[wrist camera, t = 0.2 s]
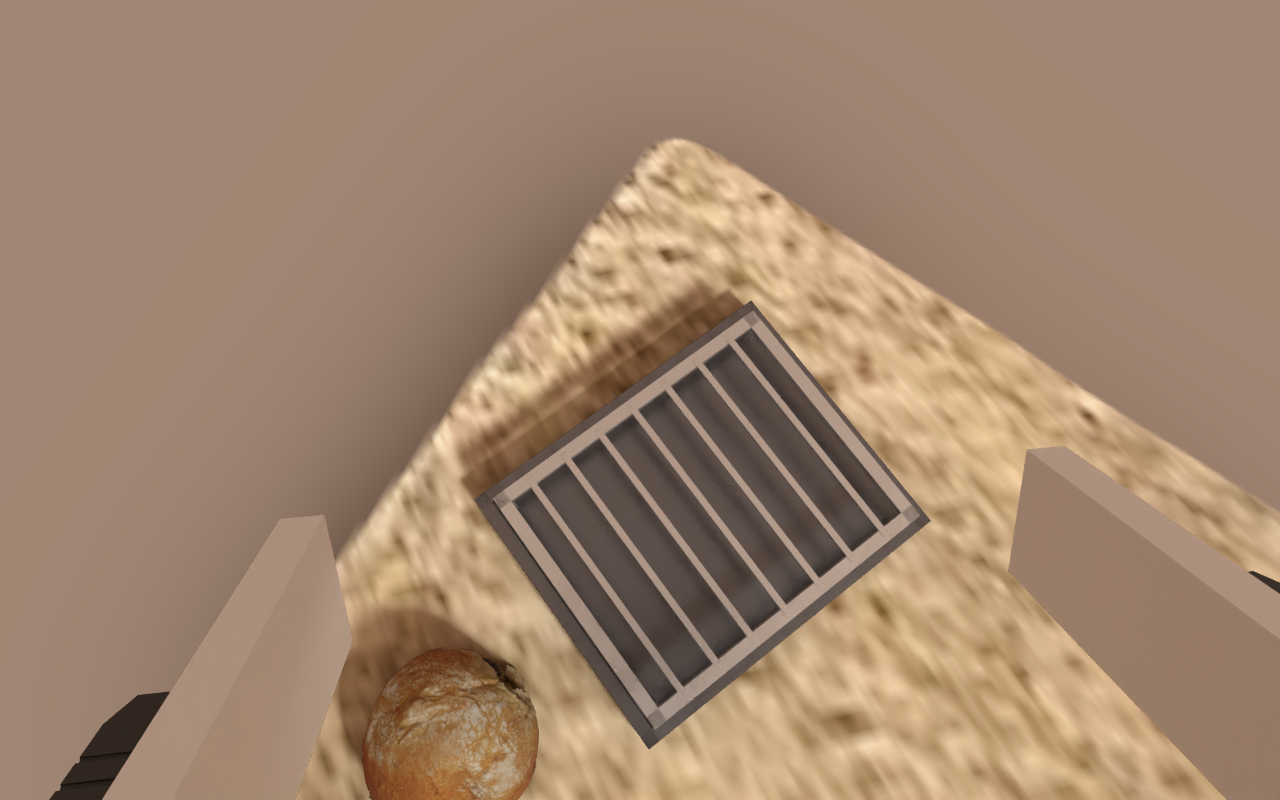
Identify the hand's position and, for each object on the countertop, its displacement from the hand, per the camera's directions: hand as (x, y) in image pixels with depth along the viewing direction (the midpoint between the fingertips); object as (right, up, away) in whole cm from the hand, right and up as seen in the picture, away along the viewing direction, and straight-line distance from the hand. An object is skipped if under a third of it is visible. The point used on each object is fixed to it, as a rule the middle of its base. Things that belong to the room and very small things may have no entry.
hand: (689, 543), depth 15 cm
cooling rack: (+3, -5, +35) cm, 36 cm away
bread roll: (-12, -18, +32) cm, 39 cm away
